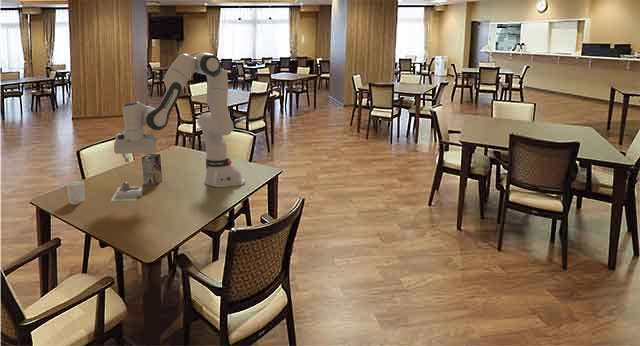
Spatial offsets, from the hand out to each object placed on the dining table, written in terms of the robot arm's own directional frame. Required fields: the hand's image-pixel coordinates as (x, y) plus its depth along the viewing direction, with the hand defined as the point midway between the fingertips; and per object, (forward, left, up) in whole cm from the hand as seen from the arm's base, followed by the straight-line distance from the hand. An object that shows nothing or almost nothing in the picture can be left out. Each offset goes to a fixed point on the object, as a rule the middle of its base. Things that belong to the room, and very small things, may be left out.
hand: (136, 161), depth 255 cm
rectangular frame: (+5, 0, -17) cm, 18 cm away
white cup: (+28, +6, -19) cm, 34 cm away
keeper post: (+6, 0, -17) cm, 18 cm away
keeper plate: (+6, 0, -18) cm, 19 cm away
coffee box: (-5, -21, -19) cm, 28 cm away
